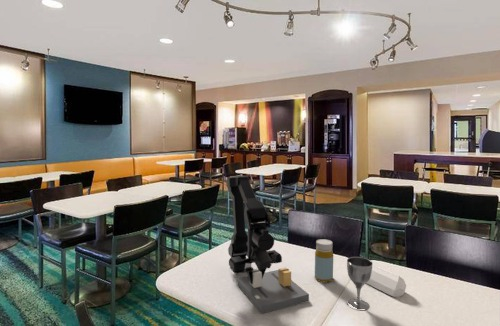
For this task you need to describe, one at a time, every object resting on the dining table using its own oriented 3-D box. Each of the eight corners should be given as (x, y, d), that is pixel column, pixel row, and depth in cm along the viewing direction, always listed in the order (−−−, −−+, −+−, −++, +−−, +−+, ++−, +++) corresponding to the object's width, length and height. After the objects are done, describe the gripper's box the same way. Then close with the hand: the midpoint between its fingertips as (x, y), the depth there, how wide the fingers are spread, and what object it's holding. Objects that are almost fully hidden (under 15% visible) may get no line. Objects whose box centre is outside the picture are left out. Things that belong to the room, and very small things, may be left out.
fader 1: (249, 283, 114) (249, 269, 113) (257, 281, 115) (257, 267, 114) (254, 288, 110) (254, 273, 110) (261, 286, 111) (261, 272, 111)
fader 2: (278, 281, 115) (278, 268, 114) (285, 280, 116) (285, 266, 115) (283, 286, 111) (283, 272, 110) (291, 285, 112) (291, 271, 112)
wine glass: (358, 313, 99) (360, 268, 98) (340, 301, 106) (342, 259, 105) (376, 307, 103) (377, 263, 101) (357, 296, 110) (359, 255, 109)
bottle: (333, 283, 119) (334, 245, 118) (314, 281, 120) (315, 244, 119) (332, 275, 126) (333, 239, 124) (314, 273, 127) (315, 238, 126)
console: (237, 284, 118) (237, 278, 118) (278, 275, 126) (278, 269, 125) (261, 313, 99) (261, 305, 99) (308, 301, 107) (308, 293, 106)
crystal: (341, 265, 127) (394, 291, 106) (352, 253, 129) (406, 277, 109) (347, 278, 129) (400, 306, 108) (358, 266, 132) (411, 291, 111)
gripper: (240, 252, 100) (240, 299, 101) (290, 244, 107) (289, 287, 109) (228, 241, 110) (228, 284, 111) (274, 234, 118) (274, 274, 119)
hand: (255, 282), depth 112 cm, fingers closed on fader 1, 3 cm apart
